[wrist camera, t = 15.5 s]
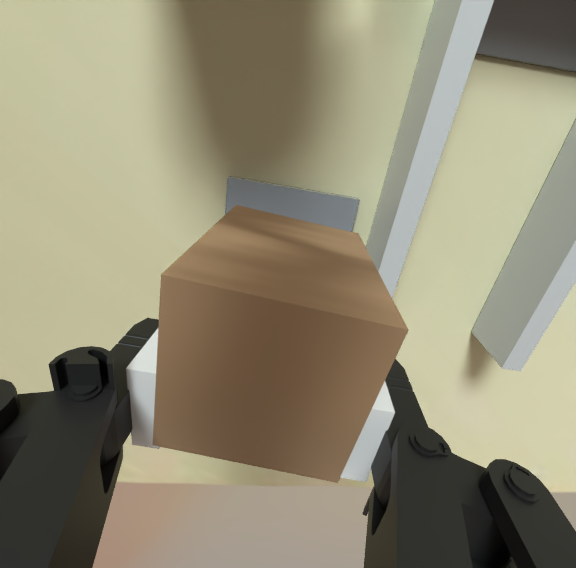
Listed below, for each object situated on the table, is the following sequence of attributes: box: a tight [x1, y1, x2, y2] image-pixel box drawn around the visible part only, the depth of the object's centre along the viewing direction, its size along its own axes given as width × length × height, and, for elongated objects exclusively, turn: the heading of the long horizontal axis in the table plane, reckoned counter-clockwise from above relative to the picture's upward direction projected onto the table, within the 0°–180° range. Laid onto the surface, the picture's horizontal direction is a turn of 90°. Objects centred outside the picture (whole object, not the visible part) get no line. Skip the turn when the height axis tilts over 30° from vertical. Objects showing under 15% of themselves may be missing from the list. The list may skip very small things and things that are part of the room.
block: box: [152, 205, 408, 483], centre depth 10 cm, size 5×5×7 cm
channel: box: [366, 0, 576, 371], centre depth 17 cm, size 10×21×4 cm, turn 171°
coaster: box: [225, 176, 360, 232], centre depth 21 cm, size 8×8×1 cm
